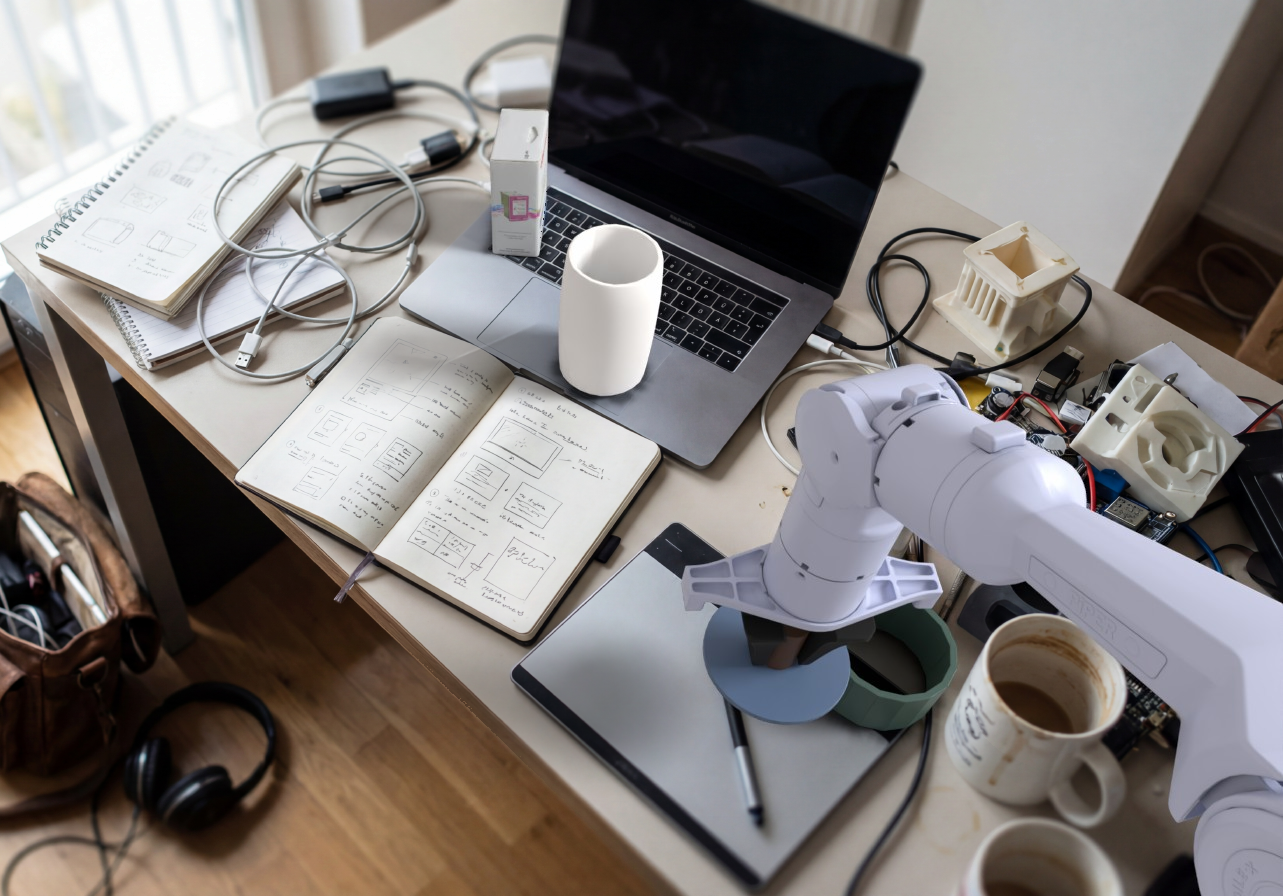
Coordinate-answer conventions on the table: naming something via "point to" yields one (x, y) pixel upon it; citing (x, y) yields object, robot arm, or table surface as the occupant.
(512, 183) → the ink box
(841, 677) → the lid
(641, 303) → the cup
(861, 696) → the container
